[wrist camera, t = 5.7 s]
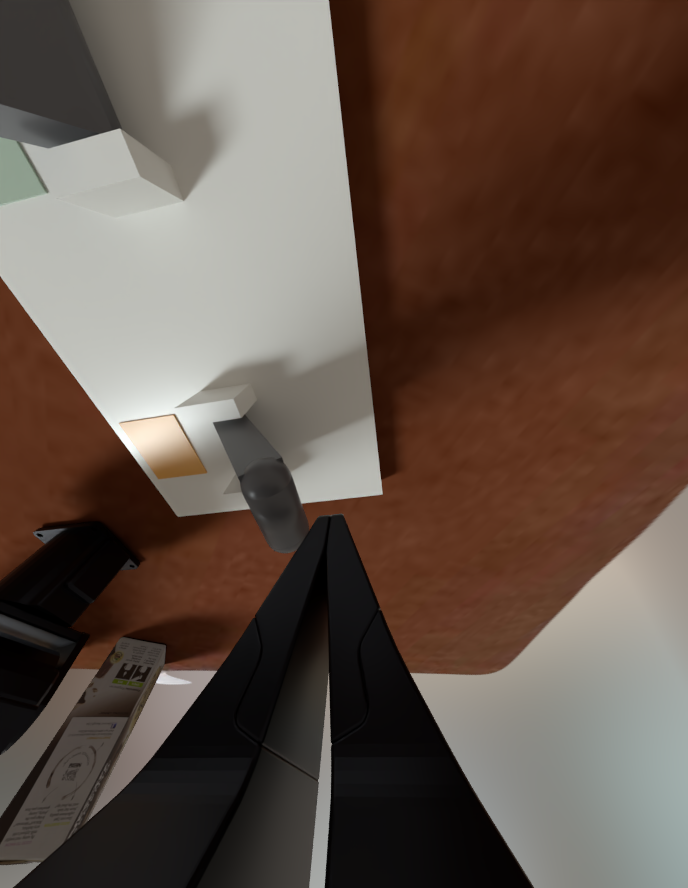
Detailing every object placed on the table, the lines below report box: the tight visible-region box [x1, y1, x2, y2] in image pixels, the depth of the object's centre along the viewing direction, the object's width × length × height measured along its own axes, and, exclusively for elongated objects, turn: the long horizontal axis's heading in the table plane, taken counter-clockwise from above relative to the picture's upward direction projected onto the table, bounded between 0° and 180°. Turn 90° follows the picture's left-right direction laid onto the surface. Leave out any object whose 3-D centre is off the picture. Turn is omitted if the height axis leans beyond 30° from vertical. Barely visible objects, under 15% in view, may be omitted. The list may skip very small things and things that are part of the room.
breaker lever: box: [213, 414, 309, 553], centre depth 12 cm, size 2×4×8 cm
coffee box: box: [0, 637, 166, 865], centre depth 30 cm, size 9×6×16 cm
